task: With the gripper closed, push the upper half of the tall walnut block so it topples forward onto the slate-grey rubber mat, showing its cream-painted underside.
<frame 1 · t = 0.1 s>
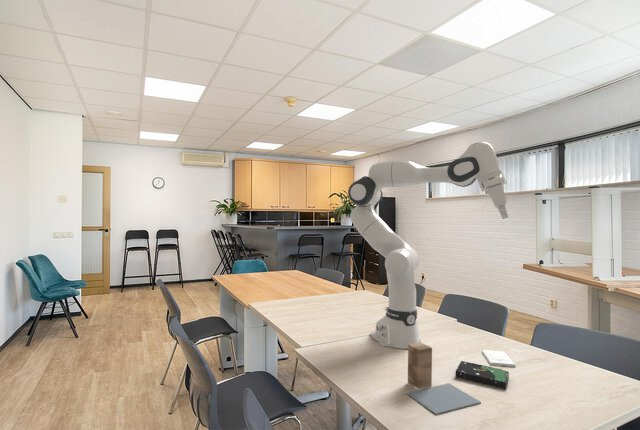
hand: (505, 218, 131), 52 cm above the table, tool tilted 20°, fingers open, 8 cm apart
disk drive: (482, 379, 116), on the table
external hard drive: (497, 361, 131), on the table
rubber mat: (443, 398, 101), on the table
walnut block: (419, 385, 109), on the table
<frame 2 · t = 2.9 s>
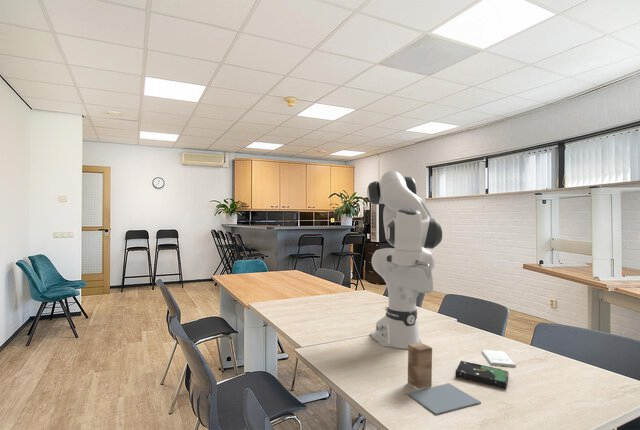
hand: (407, 301, 115), 24 cm above the table, tool pointing down, fingers open, 4 cm apart
nothing on the table moved.
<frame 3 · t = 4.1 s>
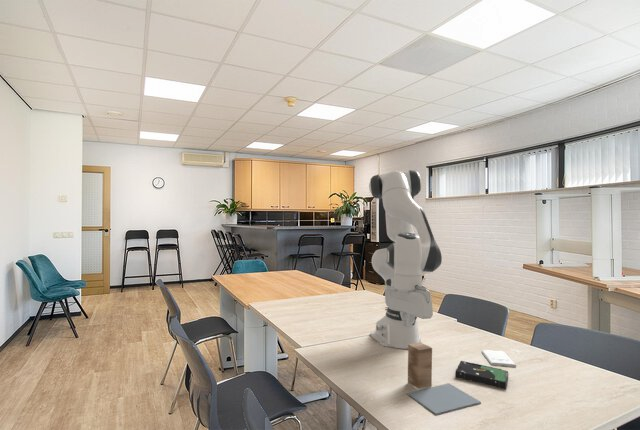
hand: (407, 326, 115), 16 cm above the table, tool pointing down, fingers closed
nothing on the table moved.
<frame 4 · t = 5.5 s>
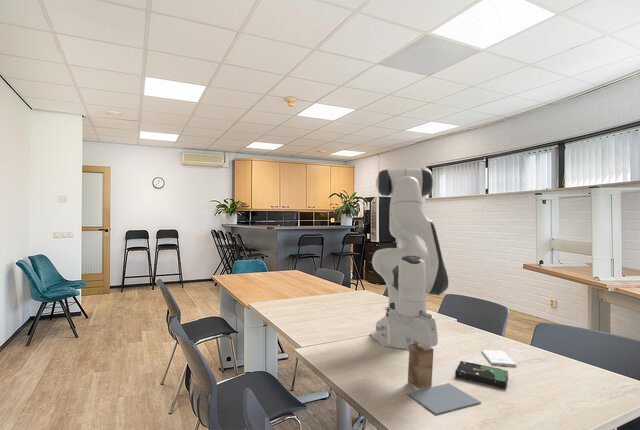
hand: (411, 351, 113), 9 cm above the table, tool pointing down, fingers closed
walnut block: (419, 385, 109), on the table, touching gripper
everything else where it was.
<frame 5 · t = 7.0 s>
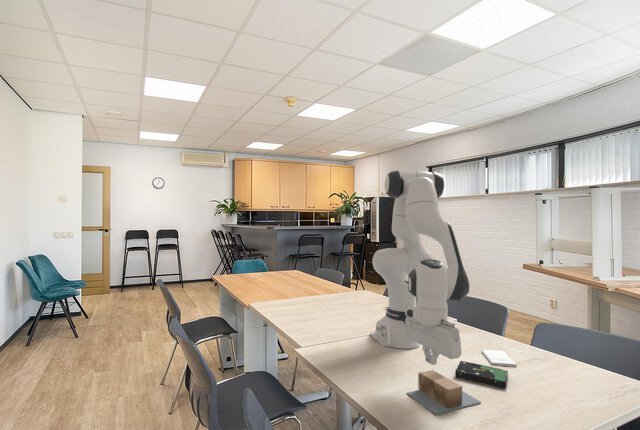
hand: (430, 362, 105), 9 cm above the table, tool pointing down, fingers closed
walnut block: (424, 379, 107), point 3 cm above the table, tilted 90°, touching rubber mat
everything else where it was.
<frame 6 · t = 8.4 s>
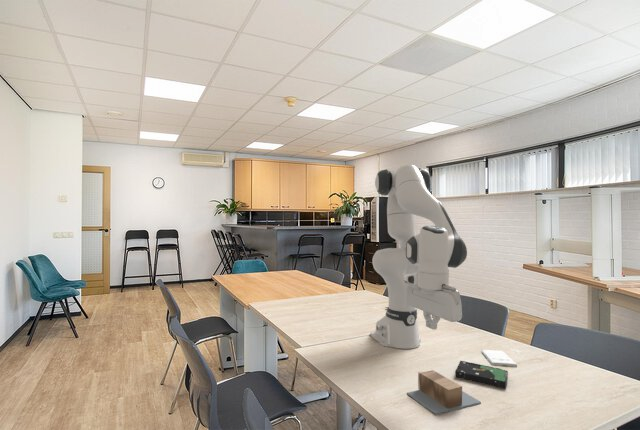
hand: (431, 328, 105), 19 cm above the table, tool pointing down, fingers closed
nothing on the table moved.
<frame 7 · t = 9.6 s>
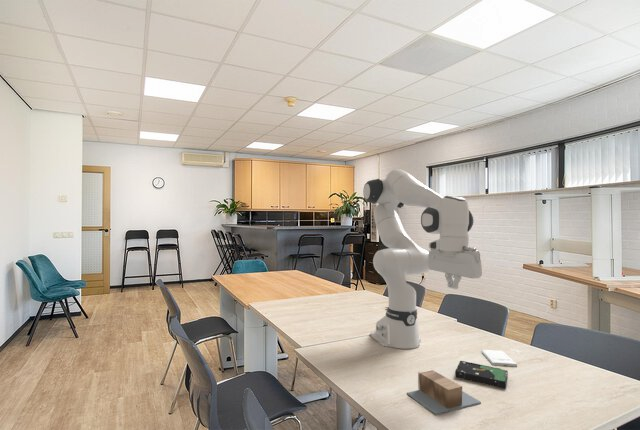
hand: (452, 287, 116), 29 cm above the table, tool pointing down, fingers closed
nothing on the table moved.
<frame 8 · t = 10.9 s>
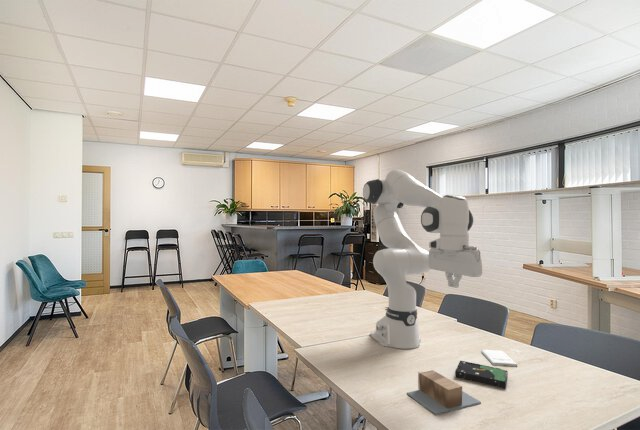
hand: (453, 286, 116), 29 cm above the table, tool pointing down, fingers closed
nothing on the table moved.
at the end: walnut block tilted 90°; walnut block inside the target area (4.2 cm from its centre), point 2.9 cm above the table; walnut block touching rubber mat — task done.
